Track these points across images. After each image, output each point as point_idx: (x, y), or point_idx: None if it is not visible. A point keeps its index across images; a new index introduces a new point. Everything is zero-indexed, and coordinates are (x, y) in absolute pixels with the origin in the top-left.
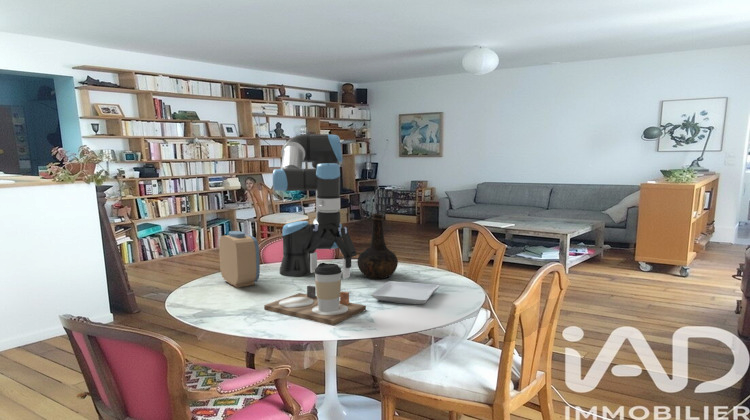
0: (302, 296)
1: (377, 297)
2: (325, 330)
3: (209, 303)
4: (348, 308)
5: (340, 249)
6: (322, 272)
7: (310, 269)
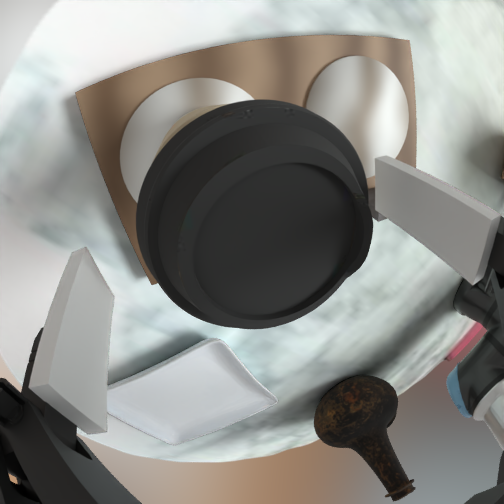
0: None
1: (197, 345)
2: (60, 45)
3: (487, 27)
4: None
5: (81, 496)
6: (207, 122)
7: (400, 162)
